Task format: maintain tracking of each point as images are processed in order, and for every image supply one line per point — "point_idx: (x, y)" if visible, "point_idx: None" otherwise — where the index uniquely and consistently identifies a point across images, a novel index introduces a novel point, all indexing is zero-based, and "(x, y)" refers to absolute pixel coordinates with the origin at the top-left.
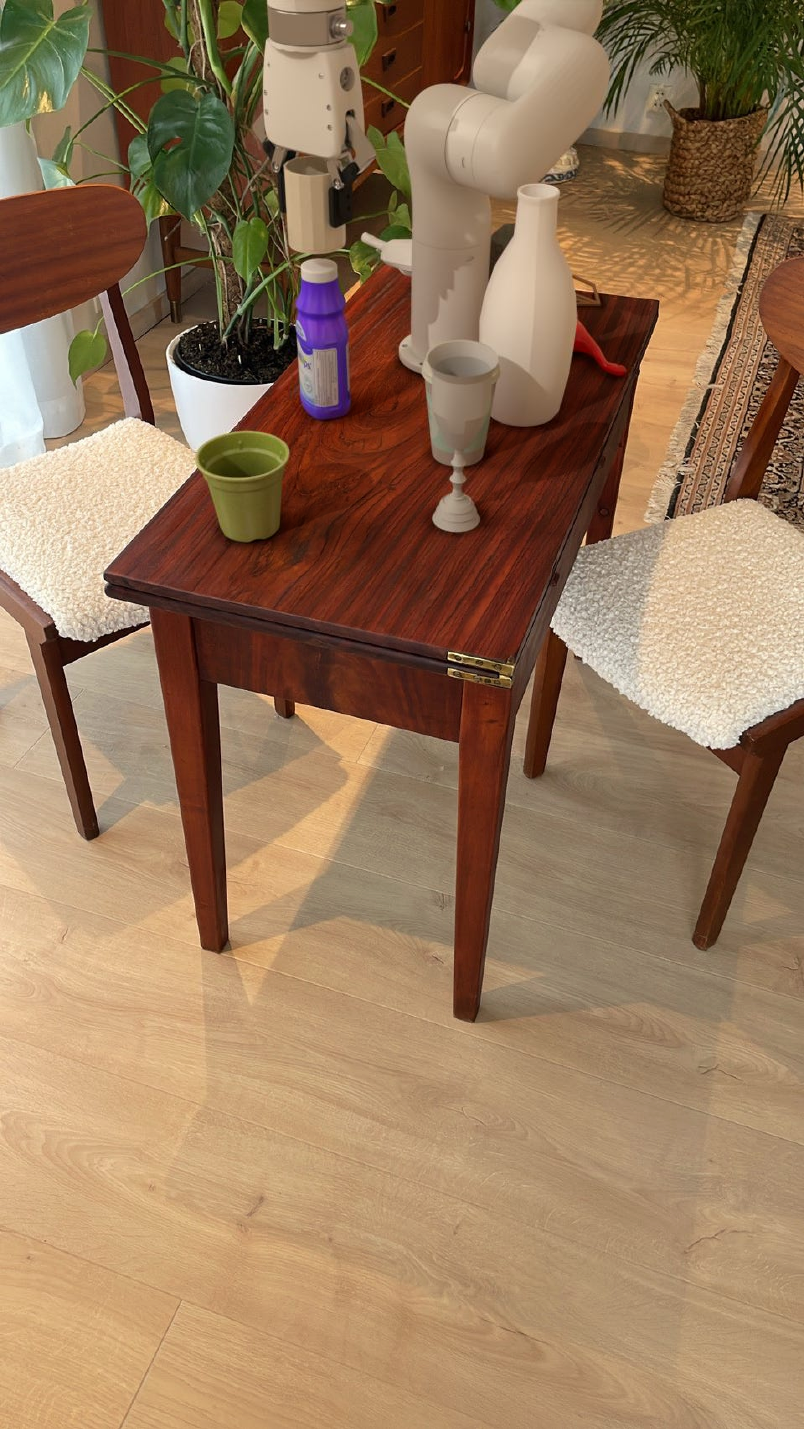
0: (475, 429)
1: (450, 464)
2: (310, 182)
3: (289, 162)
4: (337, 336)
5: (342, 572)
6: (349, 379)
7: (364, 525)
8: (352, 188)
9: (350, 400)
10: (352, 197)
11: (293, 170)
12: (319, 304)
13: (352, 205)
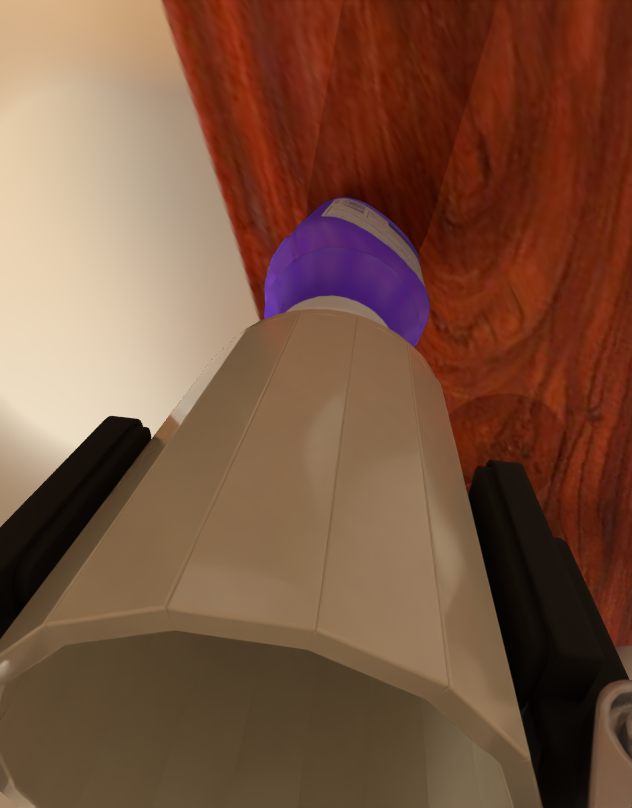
0: None
1: None
2: None
3: (20, 784)
4: (418, 339)
5: (599, 586)
6: (419, 266)
7: (589, 507)
8: (627, 679)
9: (417, 254)
10: (598, 618)
11: (55, 679)
12: None
13: (578, 576)
